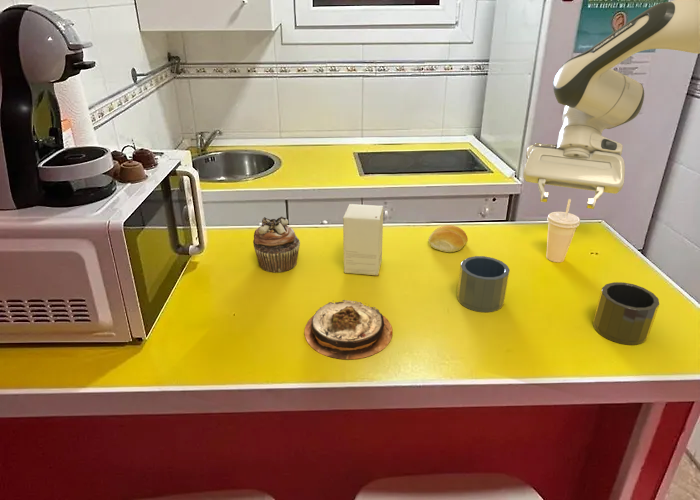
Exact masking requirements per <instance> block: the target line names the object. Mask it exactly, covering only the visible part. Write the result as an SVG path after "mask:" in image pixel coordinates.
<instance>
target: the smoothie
mask: <svg viewBox="0 0 700 500" xmlns="http://www.w3.org/2000/svg"><path fill="white" fill-rule="evenodd" d="M571 202H572V198H568V199H567V203H566V208H565V211H553V212H550V213H548V215H547V218H546V220H547V224H548V225H547V226H548V227H547V237H546V238H547V239H546V253H545V254H546V255H545V257H546V259H547V260H548V261H550V262H554V263H562V262H564V261H565V259H566V256H567V254H568V252H569V248H570V246H571V243H572V241H573V238H574V235H575V232H576V230H577V228H578V227H579V226H580V224H581V218H580V217H579V216H578V215H576V214H573V213H571V212H570V207H571Z"/></svg>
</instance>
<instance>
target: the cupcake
mask: <svg viewBox="0 0 700 500" xmlns="http://www.w3.org/2000/svg"><path fill="white" fill-rule="evenodd" d="M252 243H253V249H254V252H255V255H256V258H257V262H258V266H259V268H260V269H261V270H263V271H266V272H268V273H275V274H276V273H284V272H289V271H290V270H293V269H294V268H295V267H296V266H297V264H298V257H299V251H300V245H301V241H300V238H298V236H297V235H296V232H295V230H294V229H293V228H292V227H291V226H289V219H287V217H283V216H280V217H278V218H277V219H276V218H271V219H270V218H268V217H267V218H266V217H265V216H264V217H263V218H262V219H261V225H260V226H258V227H257V228H256V229H255V230H254V232H253V241H252Z"/></svg>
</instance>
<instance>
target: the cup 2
mask: <svg viewBox="0 0 700 500" xmlns="http://www.w3.org/2000/svg"><path fill="white" fill-rule="evenodd" d="M659 307H660V301H659V298H658V296H656V295H655V294H654V293H653V292H652V291H650V290H648V289H646V288H645V287H643V286H640V285H637V284H634V283H629V282H623V281H622V282H621V281H620V282H617V281H616V282H615V281H614V282H609V283H606V284H605V285H604V286H603V287H602V288H601V290H600V294H599V298H598V302H597V305H596V309H595V313H594V316H593V321H592V325H593V329H594V330H595V331H596V332H597V333H598V335H600V336H601V337H603V338H605V339H607V340H608V341H611V342H614V343H616V344H620V345H625V346H626V345H627V346H637V345H638V346H639V345H642V344H644V343H645V342H646V341H647V340H648V337H649V336H650V333H651V330H652V327H653V324H654V322H655V318H656V315H657V312H658V310H659Z"/></svg>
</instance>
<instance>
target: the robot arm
mask: <svg viewBox="0 0 700 500" xmlns="http://www.w3.org/2000/svg"><path fill="white" fill-rule="evenodd" d="M647 50H672V51H678V52H684V53H689V54H698V55H700V0H671V1H666V2H665V1H664V2H660V3H657V4H655V5H653V6H651V7H649V8H648V9H646V10H644V11H643V12H641V13H640V14H638V15H637V16H635V17H634V18H632V19H631V20H629V21H628V22H626V23H625V24H624V25H622V26H621V27H619V28H618V29H616V30H614V31H613V32H612V33H610V34H609V35H608V36H606V37H605V38H603V39H602V40H600V41H599V42H597V43H596V44H595V45H594V46H592V47H590V48H589V49H587V50H585V51H583V52H581V53H580V54H577V55H576V56H574V57H571V58H570V59H569V60H567V61H565V62H564V63H563V64H562V65H561V66H560V68H559V69H558V70H557V72H556V74H555V75H554V77H553V80H552V88H553V93H554V97H555V99H556V101H557V103H558V104H559V105H563V106H564V107H563V111H562V112H563V113H562V117H561V120H562V126H561V128H560V130H559V132H558V137H557V141H556V142H557V143H556V144H551V143H542V142H535V144H531V145H529V146H528V147H527V149H526V153H525V157H526V162H525V164H524V168H523V173H522V178H523V180H524V181H525V182H526V183H532V184H537V189H538V190H539V193H540V199H539V202H542V203H548V200H549V199H548V198H549V195H550V192H549V191H546V189H545V186H546V185H547V186H554V187H562V188H569V189H575V190H584V191H592V192H594V196H593V197H588V199H587V203H586V209H591V210H594V209H595V207H596V202H598V200H600V199H601V198H602V196H603V194H604V193H607V194H612V195H613V194H614V195H615V194H618V193H619V192H621V191H622V189H623V187H624V184H625V175H626V164H625V163H626V162H625V160H624V158H623V157H622V154H623V149H624V147H623V146H624V145H623V144H622V143H621V142H619V141H615V140H613V139H610V138H608V137H606V136H603V131H604V130H611V129H615V128H616V127H619V126H622V125H625V124H628V123H629V122H631V121H633V120H634V119H635V118H636V117H637V116H638V115H639V114H640V112H641V110H642V107H643V104H644V101H645V100H644V99H645V89H644V88H645V87H644V85H643V84H642V83H641V82H639V81H637V80H636V79H634V78H632V77H630V76H628V75H626V74H624V73H621V72H619V71H617V70H614V69H613V68H615V67H616V66H618V65H619V64H621V63H622V62H624V61H625V60H628V59H629V58H630V57H631V56H633V55H635V54H636V53H640V52H643V51H647Z"/></svg>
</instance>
